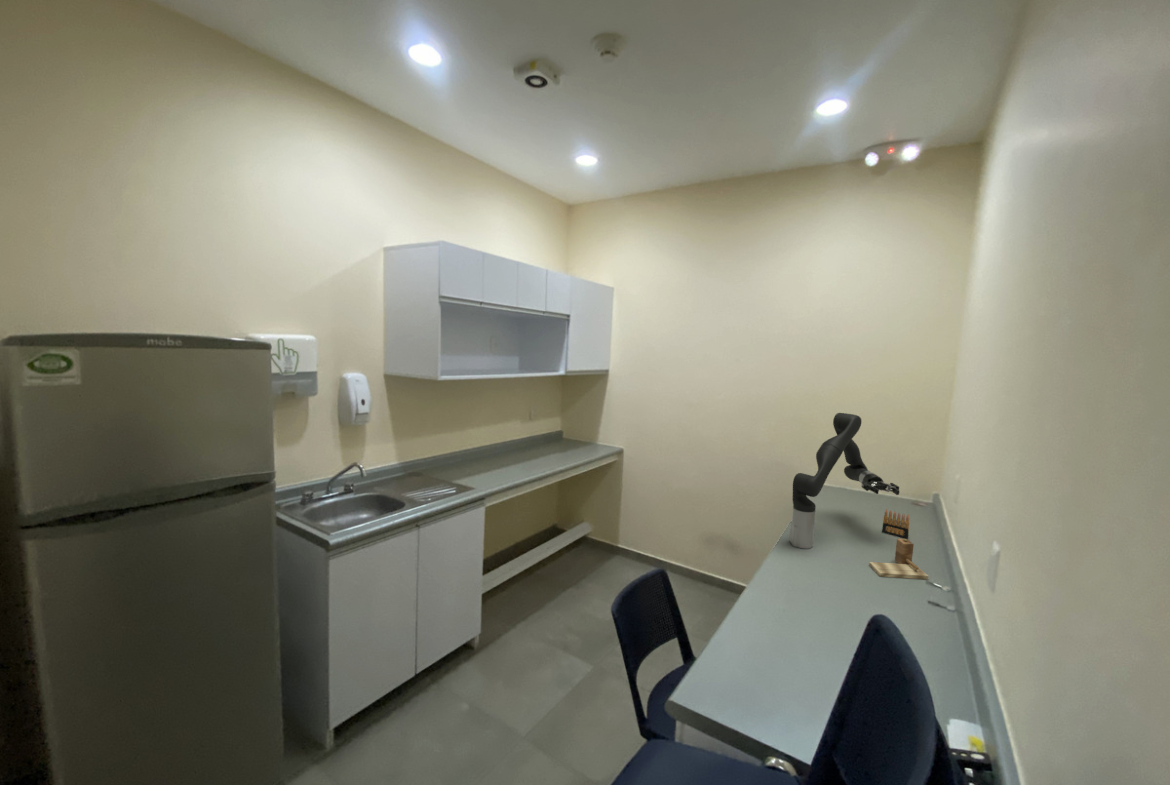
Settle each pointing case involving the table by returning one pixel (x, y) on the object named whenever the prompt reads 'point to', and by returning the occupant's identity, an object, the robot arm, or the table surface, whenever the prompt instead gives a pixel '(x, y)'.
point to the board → (897, 570)
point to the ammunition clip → (896, 525)
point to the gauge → (904, 552)
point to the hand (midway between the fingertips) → (887, 492)
